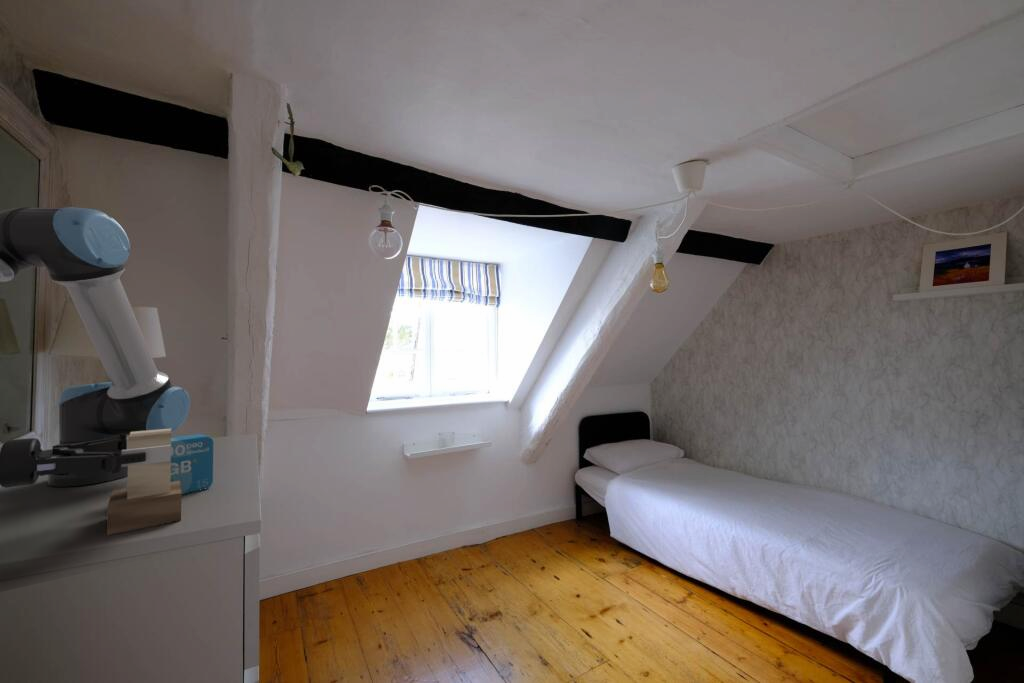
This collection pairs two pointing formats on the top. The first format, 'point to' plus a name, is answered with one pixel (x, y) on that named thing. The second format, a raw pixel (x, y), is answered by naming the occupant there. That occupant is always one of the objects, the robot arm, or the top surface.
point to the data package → (192, 462)
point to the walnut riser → (143, 509)
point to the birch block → (149, 465)
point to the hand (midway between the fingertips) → (170, 446)
